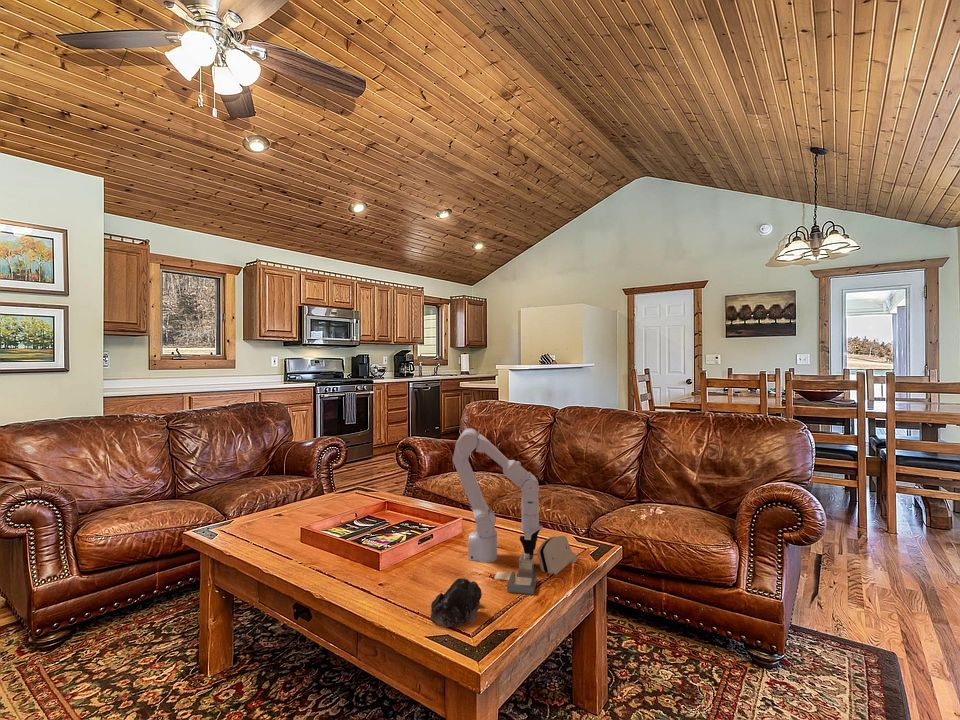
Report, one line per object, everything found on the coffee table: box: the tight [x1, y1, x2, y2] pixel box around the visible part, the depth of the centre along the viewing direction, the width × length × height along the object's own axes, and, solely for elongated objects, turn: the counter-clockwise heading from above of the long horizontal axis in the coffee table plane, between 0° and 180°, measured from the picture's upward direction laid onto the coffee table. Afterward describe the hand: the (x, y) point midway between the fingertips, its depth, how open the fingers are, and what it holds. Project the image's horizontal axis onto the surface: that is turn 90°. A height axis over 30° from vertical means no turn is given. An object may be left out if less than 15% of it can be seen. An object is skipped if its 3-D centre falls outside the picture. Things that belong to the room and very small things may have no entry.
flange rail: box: [506, 563, 538, 596], centre depth 148 cm, size 8×19×3 cm, turn 167°
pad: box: [493, 571, 512, 581], centre depth 150 cm, size 5×5×1 cm
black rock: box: [430, 577, 483, 628], centre depth 130 cm, size 13×14×10 cm
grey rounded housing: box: [536, 535, 578, 576], centre depth 159 cm, size 17×5×10 cm, turn 146°
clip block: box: [518, 552, 535, 574], centre depth 153 cm, size 4×4×5 cm
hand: (530, 553), depth 163 cm, fingers open, 7 cm apart
